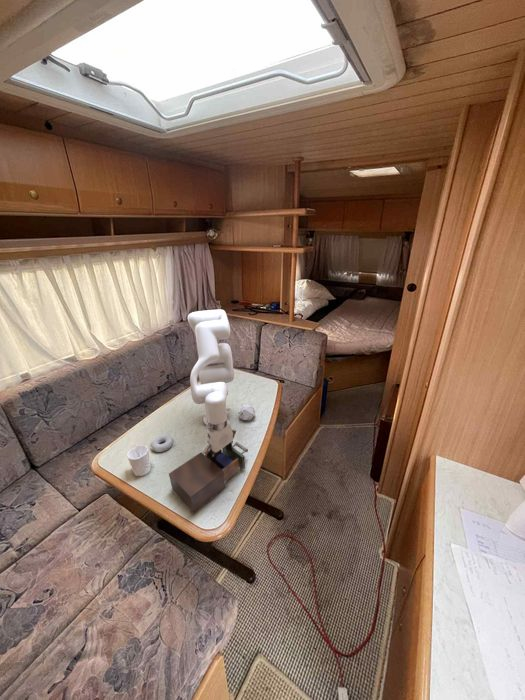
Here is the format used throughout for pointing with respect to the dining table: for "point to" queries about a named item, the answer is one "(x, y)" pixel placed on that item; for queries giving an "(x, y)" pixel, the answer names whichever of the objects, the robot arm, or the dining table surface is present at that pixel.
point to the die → (246, 412)
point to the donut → (164, 446)
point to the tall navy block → (223, 460)
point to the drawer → (236, 458)
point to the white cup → (139, 460)
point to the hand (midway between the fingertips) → (221, 455)
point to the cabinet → (197, 481)
